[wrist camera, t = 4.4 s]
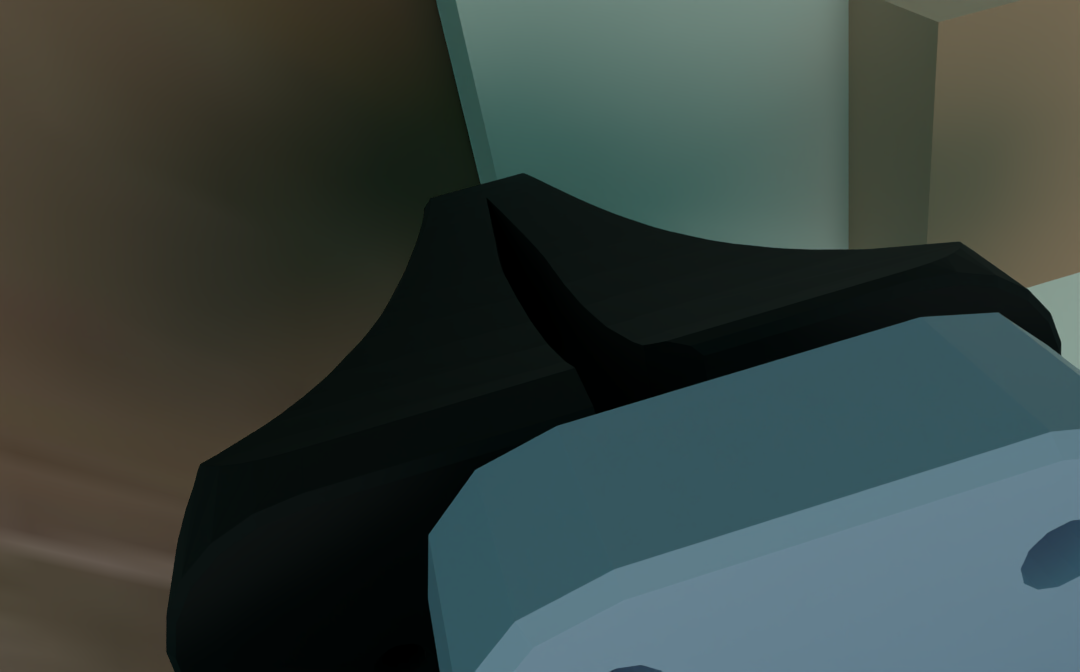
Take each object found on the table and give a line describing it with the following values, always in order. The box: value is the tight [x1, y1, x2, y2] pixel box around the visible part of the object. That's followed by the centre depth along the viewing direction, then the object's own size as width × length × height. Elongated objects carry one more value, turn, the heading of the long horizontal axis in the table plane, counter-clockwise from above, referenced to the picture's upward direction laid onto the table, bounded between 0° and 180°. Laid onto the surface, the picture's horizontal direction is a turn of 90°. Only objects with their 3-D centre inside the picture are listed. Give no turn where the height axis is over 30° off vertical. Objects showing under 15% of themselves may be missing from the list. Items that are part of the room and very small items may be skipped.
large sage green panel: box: [436, 0, 1080, 370], centre depth 14 cm, size 14×16×3 cm
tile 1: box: [849, 0, 1080, 288], centre depth 12 cm, size 4×4×2 cm
